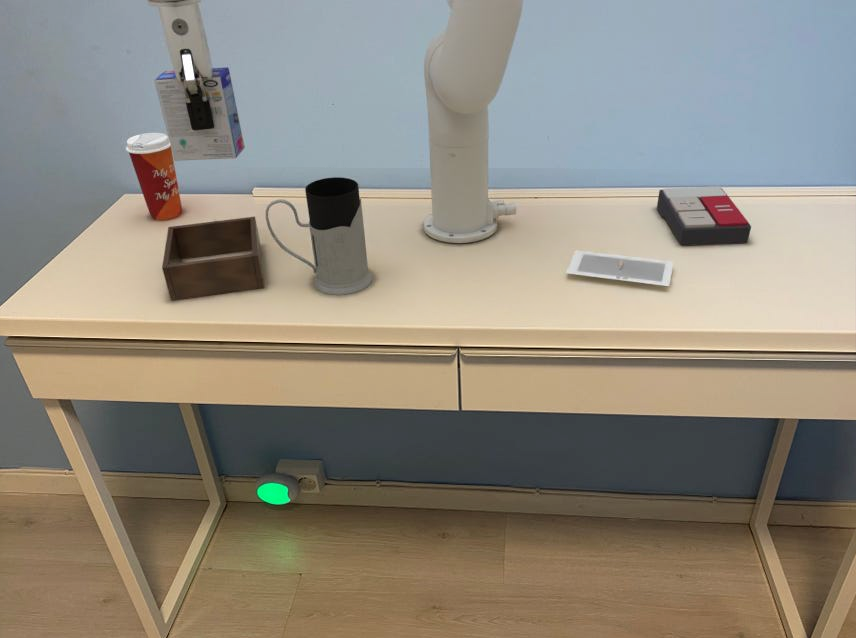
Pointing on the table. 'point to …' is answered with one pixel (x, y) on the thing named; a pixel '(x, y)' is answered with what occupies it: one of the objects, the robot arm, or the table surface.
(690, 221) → the calculator
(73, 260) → the table surface
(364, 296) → the table surface
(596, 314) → the table surface
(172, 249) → the desk bin
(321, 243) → the glass holder
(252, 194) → the table surface
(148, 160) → the paper cup
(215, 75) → the ink cartridge box
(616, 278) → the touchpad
